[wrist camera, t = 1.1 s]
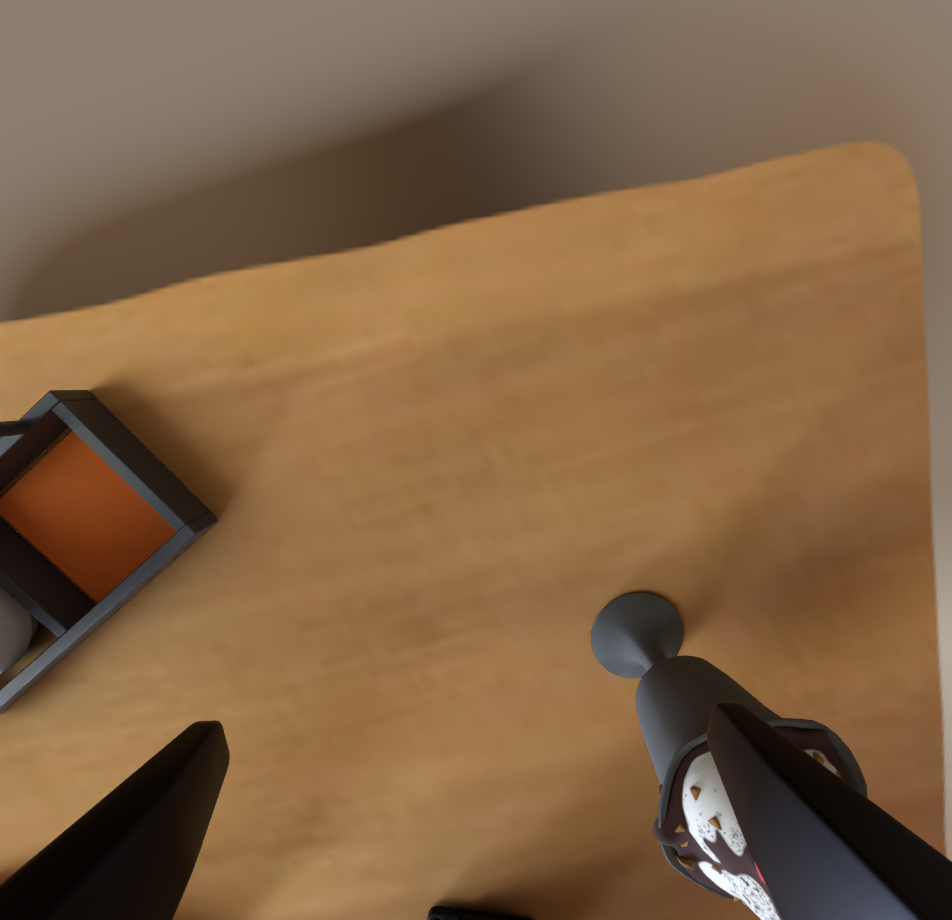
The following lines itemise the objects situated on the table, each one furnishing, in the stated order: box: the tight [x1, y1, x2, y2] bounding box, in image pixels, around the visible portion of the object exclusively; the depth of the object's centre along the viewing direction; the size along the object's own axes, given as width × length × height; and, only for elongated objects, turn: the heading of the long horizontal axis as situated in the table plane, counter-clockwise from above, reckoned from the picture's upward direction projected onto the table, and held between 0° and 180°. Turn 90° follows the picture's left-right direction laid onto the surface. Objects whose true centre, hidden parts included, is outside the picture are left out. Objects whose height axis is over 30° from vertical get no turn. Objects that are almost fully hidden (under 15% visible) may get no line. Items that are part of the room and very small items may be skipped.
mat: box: [0, 430, 178, 603], centre depth 22 cm, size 7×7×1 cm
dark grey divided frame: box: [0, 390, 219, 714], centre depth 20 cm, size 8×16×4 cm, turn 130°
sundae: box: [591, 592, 867, 920], centre depth 17 cm, size 7×7×15 cm
